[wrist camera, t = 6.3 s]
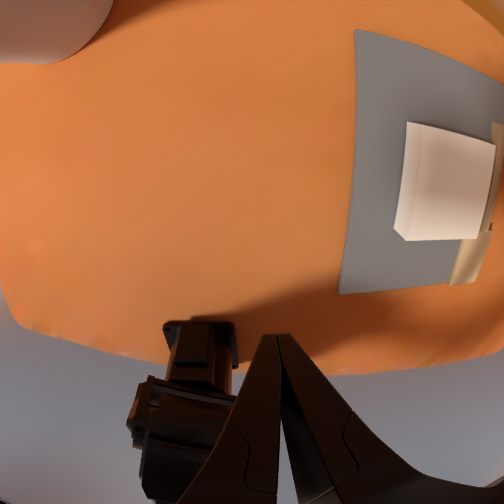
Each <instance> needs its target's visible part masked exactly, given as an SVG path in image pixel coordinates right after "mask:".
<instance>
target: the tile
mask: <svg viewBox="0 0 504 504" xmlns="http://www.w3.org/2000/svg"><path fill="white" fill-rule="evenodd" d="M495 149H496V145H493V144H490V143H487V142H484V141H482V140H479V139H475V138H472V137H469V136H465V135H462V134H459V133H455V132H451V131H447V130H443V129H439V128H435V127H431V126H427V125H422V124H417V123H412V122H407V130H406V144H405V155H404V164H403V173H402V180H401V188H400V194H399V201H398V207H397V213H396V218H395V223H394V229H395V230H396V231H397V232H398V233H399V234H400V235H401V236H402V237H403V238H404V239H405V240H406V241H420V240H452V239H477V236H478V232H479V229H480V225H481V222H482V218H483V214H484V210H485V206H486V202H487V197H488V192H489V187H490V182H491V177H492V171H493V164H494V157H495Z"/></svg>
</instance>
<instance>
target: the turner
mask: <svg viewBox="0 0 504 504" xmlns="http://www.w3.org/2000/svg"><path fill="white" fill-rule="evenodd" d="M490 144H493V145H496V149H495V157H494V164H493V171H492V177H491V182H490V187H489V192H488V197H487V202H486V206H485V210H484V214H483V218H482V222H481V225H480V229H479V232H478V236H477V239H462V240H461V244H460V247H459V250H458V253H457V256H456V259H455V262H454V265H453V268H452V271H451V273H450V276H449V279H448V281H447V283H448V284H449V285H450V286H454V285H460V284H466V283H472V282H475V279H476V277H477V274H478V272H479V269H480V267H481V264H482V261H483V259H484V256H485V253H486V250H487V247H488V244H489V241H490V238H491V235H492V231H493V230H491V229H490V228H489V226H490V222H491V218H492V215H493V211H494V207H495V202H496V198H497V193H498V189H499V183H500V178H501V172H502V166H503V159H504V125H501V124H499V123H495V122H492V129H491V141H490Z"/></svg>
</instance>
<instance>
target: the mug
mask: <svg viewBox="0 0 504 504" xmlns="http://www.w3.org/2000/svg"><path fill="white" fill-rule="evenodd" d="M113 1H114V0H0V63H32V64H51V63H55V62H59V61H61V60H64V59H66V58H68V57H70V56H71V55H73V54H74V53H76V52H77V51H78V50H80V49H81V48H82V47H83V46H84V45H85V44H86V43H88V42H89V40H90V39H91V38H92V37H93V36H94V35H95V34H96V33H97V31H98V30H99V29H100V27H101V26H102V25H103V23H104V21H105V20H106V18H107V16H108V14H109V12H110V10H111V7H112V5H113Z"/></svg>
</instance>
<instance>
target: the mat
mask: <svg viewBox="0 0 504 504" xmlns="http://www.w3.org/2000/svg"><path fill="white" fill-rule="evenodd" d="M354 39H355V58H356V127H355V149H354V164H353V177H352V188H351V199H350V208H349V216H348V225H347V232H346V240H345V247H344V253H343V260H342V266H341V272H340V278H339V284H338V289H337V291H338V293H339V295H342V294H354V293H364V292H374V291H384V290H393V289H402V288H410V287H418V286H426V285H433V284H441V283H447V281H448V279H449V276H450V273H451V271H452V268H453V265H454V262H455V259H456V256H457V253H458V250H459V247H460V244H461V240H462V239H452V240H420V241H406V240H405V239H404V238H403V237H402V236H401V235H400V234H399V233H398V232H397V231H396V230H395V229H394V223H395V218H396V213H397V207H398V201H399V194H400V188H401V180H402V173H403V164H404V155H405V144H406V130H407V122H412V123H417V124H422V125H427V126H431V127H435V128H439V129H443V130H447V131H451V132H455V133H459V134H462V135H465V136H469V137H472V138H475V139H479V140H482V141H484V142H487V143H490V141H491V129H492V122H495V123H499V124H501V125H504V85H502V84H500V83H499V82H497V81H495V80H493V79H492V78H490V77H488V76H486V75H484V74H483V73H481V72H479V71H477V70H475V69H473V68H471V67H469V66H467V65H465V64H462V63H460V62H458V61H456V60H454V59H451V58H449V57H447V56H444V55H442V54H439V53H437V52H434V51H432V50H429V49H426V48H424V47H421V46H418V45H415V44H412V43H409V42H406V41H402V40H399V39H396V38H392V37H388V36H385V35H381V34H377V33H373V32H368V31H364V30H359V29H357V30H355V31H354ZM503 160H504V159H503ZM502 167H503V166H502ZM501 173H502V172H501ZM500 179H501V178H500ZM499 184H500V183H499ZM497 194H498V193H497ZM496 199H497V198H496ZM495 203H496V202H495ZM491 219H492V218H491ZM490 223H491V222H490Z"/></svg>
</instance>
